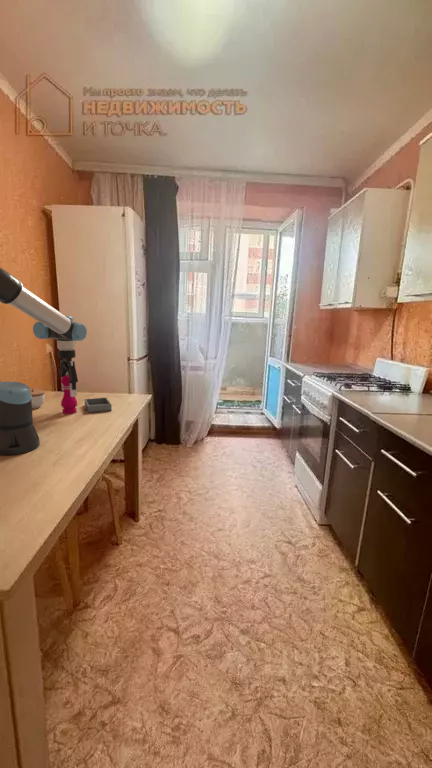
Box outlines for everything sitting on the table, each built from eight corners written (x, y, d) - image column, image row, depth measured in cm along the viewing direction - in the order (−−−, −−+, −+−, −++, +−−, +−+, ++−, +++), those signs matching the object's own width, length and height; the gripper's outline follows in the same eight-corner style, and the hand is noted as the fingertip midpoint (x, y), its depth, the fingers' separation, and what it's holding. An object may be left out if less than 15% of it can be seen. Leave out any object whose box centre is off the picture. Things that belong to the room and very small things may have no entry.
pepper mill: (58, 413, 164) (56, 372, 160) (67, 409, 171) (65, 370, 167) (72, 415, 163) (70, 374, 159) (80, 410, 170) (78, 371, 166)
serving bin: (111, 410, 172) (111, 404, 172) (88, 413, 167) (88, 406, 167) (106, 403, 184) (106, 397, 184) (84, 405, 179) (84, 399, 179)
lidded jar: (38, 410, 168) (37, 391, 166) (17, 409, 168) (15, 390, 166) (49, 404, 179) (48, 386, 177) (29, 403, 179) (27, 386, 177)
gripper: (83, 352, 154) (86, 397, 159) (66, 345, 172) (69, 386, 177) (66, 353, 149) (69, 400, 154) (50, 346, 168) (53, 388, 172)
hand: (69, 393), depth 166 cm, fingers open, 13 cm apart
